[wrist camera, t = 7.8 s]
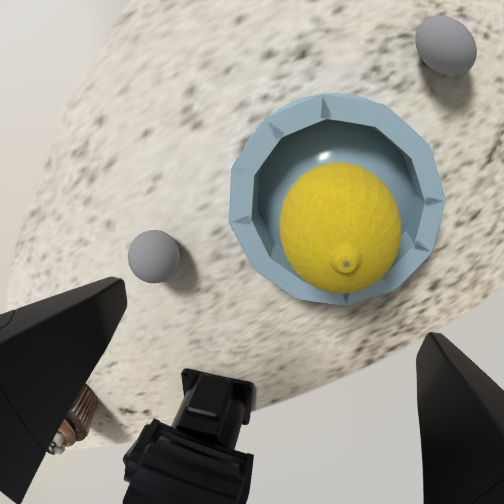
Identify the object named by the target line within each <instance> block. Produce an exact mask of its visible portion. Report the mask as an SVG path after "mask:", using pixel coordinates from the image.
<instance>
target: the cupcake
mask: <svg viewBox="0 0 504 504" xmlns="http://www.w3.org/2000/svg"><path fill="white" fill-rule="evenodd" d="M96 409H97V398H96V396H95V394H94V392H93V391H92V390H91V388H90V387H89V386H88V385H87V384H86V383H85V384H84V386H83V388H82V390H81V391H80V393H79V395H78V396H77V398H76V400H75V401H74V403H73V405H72V407H71V408H70V410H69V412H68V414H67V415H66V417H65V419H64V421H63V423H62V424H61V426H60V428H59V430H58V432H57V433H56V435H55V437H54V439H53V441H52V443H51V445H50V446H49V448H48V450H47V452H48V453H50V454H53V455H54V454H55V453H58V454H62V453H63V452H64V450H65V447H66V446H67V447H68V446H72V445H73V444H74V443H75V442H76V441H81V440H83V439H85V437H87V435H88V433H89V429H90V425H91V421H92V419H93V416H94V414H95V411H96Z"/></svg>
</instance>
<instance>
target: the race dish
mask: <svg viewBox="0 0 504 504" xmlns="http://www.w3.org/2000/svg"><path fill="white" fill-rule="evenodd" d="M340 162H345V163H349V164H354V165H358V166H360V167H362V168H364V169H366V170H368V171H370V172H372V173H374V174H375V175H376V176H377V177H378V178H379V179H380V180H381V181H382V182H383V183H384V184H385V185H386V186H387V188H388V189H389V191H390V192H391V194H392V196H393V197H394V199H395V201H396V204H397V207H398V211H399V214H400V218H401V242H400V246H399V250H398V254H397V257H396V259H395V260H394V262H393V264H392V266H391V267H390V269H389V271H388V272H387V273H386V274H385V275H384V276H383V277H382V278H381V279H380V280H379V281H377V282H376V283H374V284H373V285H371V286H370V287H368V288H366V289H363V290H360V291H357V292H353V293H345V294H340V293H330V292H327V291H324V290H320V289H317V288H315V287H314V286H312V285H311V284H309V283H307V282H306V281H305V280H304V279H303V278H302V277H301V276H300V275H299V274H297V273H296V272H295V270H294V269H293V267H292V266H291V264H290V262H289V261H288V259H287V257H286V255H285V253H284V249H283V246H282V242H281V239H280V214H281V210H282V205H283V201H284V199H285V197H286V196H287V194H288V192H289V190H290V188H291V187H292V185H293V184H294V183H295V182H296V181H297V180H298V179H299V178H300V177H301V176H302V175H303V174H305V173H306V172H308V171H310V170H311V169H313V168H314V167H317V166H320V165H324V164H327V163H340ZM444 205H445V196H444V192H443V188H442V185H441V181H440V177H439V174H438V170H437V167H436V164H435V160H434V157H433V154H432V151H431V148H430V146H429V144H428V143H427V142H426V141H425V140H424V139H423V138H422V137H421V136H419V135H418V134H417V133H416V132H415V131H414V130H413V129H412V128H411V127H410V126H409V125H408V124H406V123H405V122H404V121H403V120H402V119H401V118H400V117H399V116H397V115H396V114H395V113H394V112H393V111H392V110H390V109H389V108H388V107H387V106H386V105H384V104H379V103H376V102H373V101H371V100H368V99H366V98H362V97H358V96H354V95H348V94H338V93H332V94H319V95H314V96H309V97H305V98H302V99H299V100H296V101H293V102H292V103H290V104H288V105H286V106H284V107H282V108H280V109H279V110H277V111H276V112H274V113H273V114H272V115H270V116H269V117H267V118H266V119H264V121H263V122H262V123H261V124H260V125H259V127H258V128H257V129H256V130H255V132H254V133H253V134H252V135H251V137H250V138H249V140H248V142H247V144H246V145H245V147H244V149H243V151H242V152H241V154H240V155H239V157H238V158H237V160H236V161H235V163H234V164H233V166H232V169H231V189H230V211H229V222H230V223H229V224H230V225H231V227H232V229H233V231H234V233H235V235H236V237H237V239H238V241H239V243H240V245H241V247H242V249H243V250H244V252H245V254H246V256H247V258H248V260H249V262H250V264H251V266H252V268H253V269H254V270H255V271H256V272H258V273H259V274H261V275H262V276H263V277H265V278H266V279H268V280H269V281H271V282H272V283H274V284H275V285H277V286H278V287H279V288H281V289H282V290H284V291H285V292H287V293H288V294H290V295H291V296H293V297H294V298H295V299H296V298H297V299H300V300H307V301H314V302H321V303H328V304H335V305H342V306H346V305H347V306H349V305H352V304H355V303H358V302H361V301H364V300H367V299H370V298H373V297H376V296H379V295H382V294H385V293H388V292H391V291H394V290H395V289H397V288H398V287H399V286H400V285H401V284H402V283H403V282H404V281H405V280H406V279H407V278H408V277H409V276H410V275H411V274H412V273H413V272H414V271H415V270H416V269H417V268H418V267H419V266H420V265H421V264H422V262H423V261H424V260H425V259H426V258H427V257H428V256H429V255H430V254H431V252H432V250H433V247H434V243H435V240H436V236H437V233H438V229H439V225H440V221H441V217H442V213H443V209H444Z"/></svg>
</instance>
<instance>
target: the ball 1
mask: <svg viewBox="0 0 504 504" xmlns="http://www.w3.org/2000/svg"><path fill="white" fill-rule="evenodd" d="M128 261H129V265H130V268H131V270H132V271H133V273H134V274H135V275H136V276H137V277H138V278H139V279H141V280H143V281H145V282H148V283H160V282H163V281H166V280H167V279H169V278H170V277H171V276H172V275H173V274H174V273H175V272H176V270H177V268H178V266H179V262H180V252H179V248H178V245H177V243H176V242H175V241H174V239H173V238H172V237H171V236H170V235H168V234H167V233H165V232H162V231H158V230H150V231H146V232H143V233H142V234H140V235H138V236H137V237H136V238H135V239H134V240H133V242H132V244H131V246H130V248H129V252H128Z"/></svg>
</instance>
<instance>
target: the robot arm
mask: <svg viewBox="0 0 504 504" xmlns="http://www.w3.org/2000/svg"><path fill="white" fill-rule="evenodd" d="M126 308H127V296H126V289H125V282H124V280H123V279H121V278H117V277H108V278H105V279H102V280H99V281H96V282H93V283H90V284H87V285H84V286H81V287H78V288H75V289H72V290H69V291H66V292H64V293H61V294H58V295H55V296H52V297H49V298H46V299H43V300H40V301H38V302H35V303H32V304H29V305H26V306H23V307H21V308H18V309H16V310H12V311H9V312H6V313H3V314H0V491H1V492H2V493H3V494H4V495H6V496H7V497H8V498H10V499H11V500H12V501H14V502H15V503H16V504H21V502H22V500H23V498H24V496H25V494H26V492H27V490H28V488H29V486H30V484H31V482H32V479H33V478H34V476H35V474H36V472H37V470H38V468H39V466H40V464H41V462H42V460H43V458H44V456H45V454H46V453H45V452H47V450H48V448H49V446H50V445H51V443H52V441H53V439H54V437H55V435H56V433H57V432H58V430H59V428H60V426H61V424H62V423H63V421H64V419H65V417H66V415H67V414H68V412H69V410H70V408H71V407H72V405H73V403H74V401H75V400H76V398H77V396H78V395H79V393H80V391H81V390H82V388H83V386H84V384H85V383H86V381H87V379H88V378H89V376H90V374H91V373H92V371H93V369H94V368H95V366H96V365H97V363H98V361H99V360H100V358H101V356H102V355H103V353H104V352H105V350H106V348H107V346H108V344H109V343H110V341H111V339H112V337H113V334H114V332H115V330H116V328H117V326H118V324H119V322H120V320H121V318H122V316H123V314H124V312H125V310H126ZM416 371H417V405H418V416H419V425H420V436H421V449H422V463H423V492H424V493H423V494H424V504H504V390H503V389H502V388H500V387H499V386H498V385H497V384H496V383H495V382H494V381H493V380H492V379H491V378H490V377H489V376H488V375H487V374H486V373H485V372H483V371H482V370H481V369H480V368H479V367H478V366H477V365H476V364H475V363H474V362H473V361H472V360H471V359H469V358H468V357H467V356H466V355H465V354H464V353H463V352H461V350H459V349H458V348H457V347H456V346H455V345H454V344H453V343H452V342H450V341H449V340H448V339H447V338H446V337H445V336H444V335H442V334H441V333H434V332H430V333H428V334H427V335H426V337H425V339H424V341H423V343H422V345H421V347H420V349H419V352H418V354H417V358H416ZM181 375H182V383H183V391H184V399H183V401H182V403H181V406H180V408H179V410H178V412H177V414H176V417H175V419H174V421H173V423H172V425H171V426H169V425H166V424H164V423H162V422H160V421H159V420H157V419H155V418H154V419H153V421H152V422H151V424H150V425H149V424H148V425H145V426H144V428H143V430H142V432H141V434H140V436H139V437H138V439H137V440H136V442H135V443H134V444H133V445H132V447H131V448H130V449H129V450H128V452H127V453H126V454H125V455H124V457H123V462H124V464H125V466H126V467H125V475H124V481H127V482H129V483H130V484H129V487H128V489H127V491H126V494H125V496H124V499H123V504H246V502H247V499H248V495H249V491H250V484H251V475H252V467H253V459H254V458H253V457H254V455H253V454H249V453H247V454H246V453H243V452H240V451H236V450H234V449H235V446H236V442H237V439H238V435H239V431H240V428H241V425H242V424H243V425H247V424H249V420H250V413H251V404H252V396H253V387H254V386H253V384H252V383H251V382H247V381H242V380H237V379H232V378H227V377H222V376H217V375H213V374H208V373H204V372H200V371H195V370H191V369H186V368H185V369H183V371H182V373H181Z"/></svg>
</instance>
